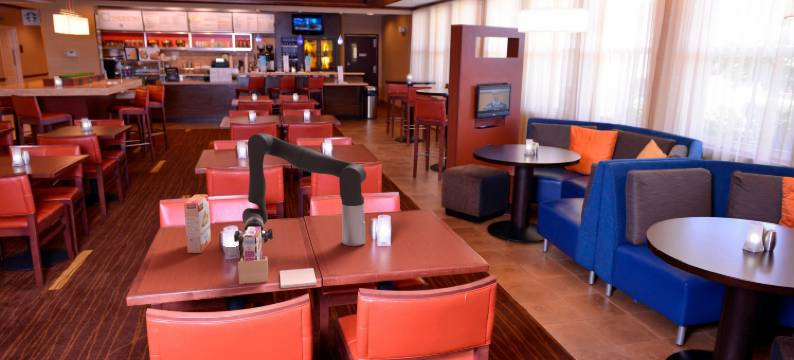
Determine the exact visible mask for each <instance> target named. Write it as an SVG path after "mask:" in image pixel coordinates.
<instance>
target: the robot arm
mask: <svg viewBox="0 0 794 360" xmlns="http://www.w3.org/2000/svg"><path fill="white" fill-rule="evenodd" d="M265 155H266V156H267V155H268V156H273V157H277V158H280V159H283V161H286V162H287V163H288V164H290V165H291V166H293V167H295V168H297V169H299V170H302V171H305V172H307V173H311V174H312V173H313V174H317V175H318V174H320V175H329V176H333V177H337V178H338V180H339V181H338V184H339V186H338V188H339V196H340V199H341V229H342V230H341V232H342V233H341V234H342V237H341V238H342V239H341V240H342V244H343V245H345V246H349V247H357V246H362V245H365V244H366V220H365V197H364V195H363V194H362V184H363V183H364V182H365V180H366V178H367V172H366V169H365V168H364V167H363V166H362V165H360V164H358V163H355V162H350V161H346V160H342V159H338V158H336V157H332V156H330V155H327V154H324V153H322V152H319V151H316V150H314V149H311V148H308V147H304V146H302V145H297V144H294V143H291V142H287V141H285V140H282V139H281V138H278V137H276V136H273V135H271V134H269V133H266V132H262V133H260V132H259V133H254V134H251V135H250V137H249V138H248V139H247V157H248V168H249V171H248V173H249V176H248V177H249V178H248V195H247V199H248V200H247V201H248V202H249V203H251V204H254V205H257V206H258V207H259V208H256V207H254V208H253V207H248V208H245V209H244V210H243V212H242V217H241V218H242V222H243V224H244V229H243V231H242V232H241V231H239V230H235V232H234V234H233V240H234V243H237V242H238V244H239V245H240V246H241V245H242V246H243V240H242V236H243V234H244V233H245V231H246V229H247V228H248V227H261V239H262V241H263V242H264V243H263V244H266V243H267V242H269V240H273V239H274V238H273V229H272V228H268V229H267V230H265V225H266V223H267V222H268V219H269V217H268V211H267V207H266V191H267V190H266V188H267V183H266V178H265V173H264V161H265Z"/></svg>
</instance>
